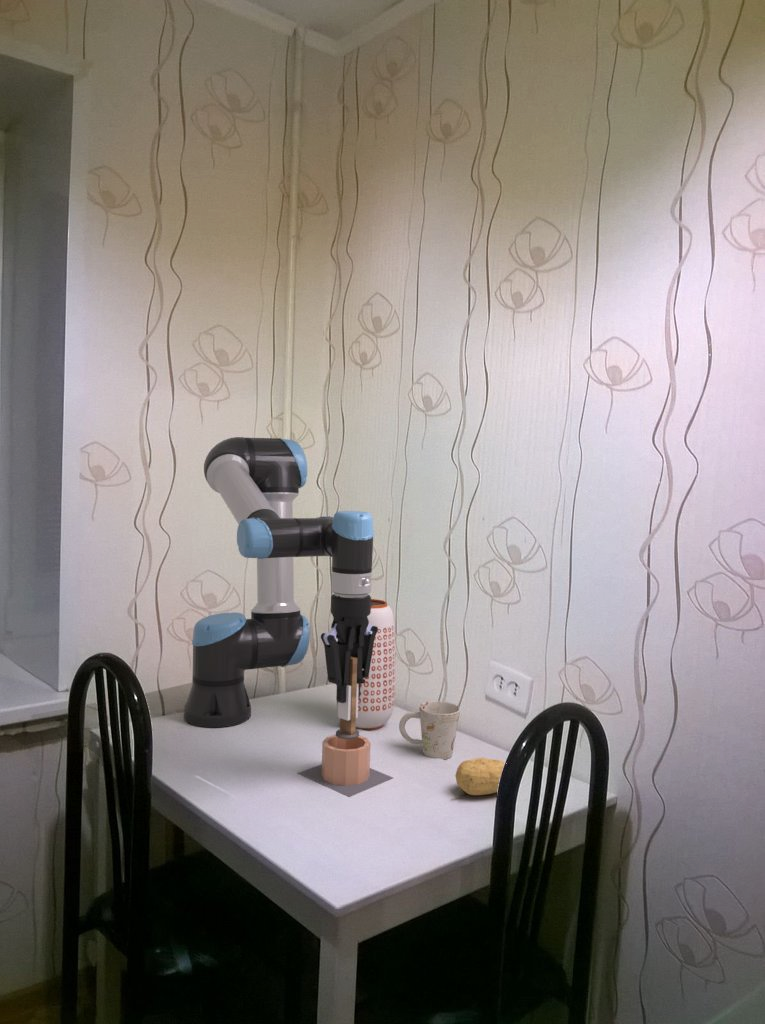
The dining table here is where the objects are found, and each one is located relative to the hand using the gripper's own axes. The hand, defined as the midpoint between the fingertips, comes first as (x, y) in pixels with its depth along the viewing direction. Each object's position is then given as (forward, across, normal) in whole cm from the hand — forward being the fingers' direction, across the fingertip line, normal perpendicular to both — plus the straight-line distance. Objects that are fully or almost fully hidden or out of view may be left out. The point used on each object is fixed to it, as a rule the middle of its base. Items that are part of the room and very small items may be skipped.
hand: (347, 717), depth 146 cm
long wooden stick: (+3, 0, 0) cm, 3 cm away
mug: (+12, +21, -3) cm, 24 cm away
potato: (+12, +14, -22) cm, 29 cm away
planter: (+12, +24, +18) cm, 32 cm away
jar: (+11, 0, 0) cm, 11 cm away
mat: (+12, 0, 0) cm, 12 cm away
